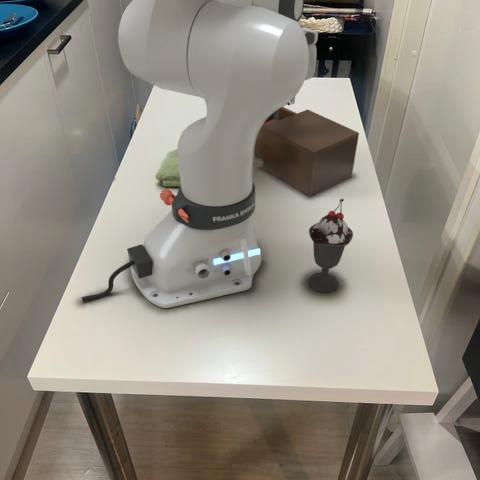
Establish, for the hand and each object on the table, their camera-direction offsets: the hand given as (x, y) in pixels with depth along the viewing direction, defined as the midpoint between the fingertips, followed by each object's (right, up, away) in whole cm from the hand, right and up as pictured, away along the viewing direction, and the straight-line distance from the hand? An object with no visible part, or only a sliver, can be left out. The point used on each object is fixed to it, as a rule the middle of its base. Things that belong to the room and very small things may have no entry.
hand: (273, 109), depth 106 cm
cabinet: (+7, -13, +1) cm, 15 cm away
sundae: (+7, -39, -24) cm, 46 cm away
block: (0, -5, +6) cm, 8 cm away
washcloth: (-16, -14, +1) cm, 21 cm away
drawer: (0, -6, +7) cm, 9 cm away
